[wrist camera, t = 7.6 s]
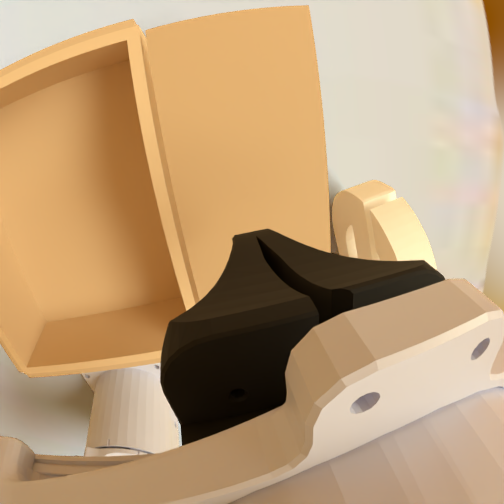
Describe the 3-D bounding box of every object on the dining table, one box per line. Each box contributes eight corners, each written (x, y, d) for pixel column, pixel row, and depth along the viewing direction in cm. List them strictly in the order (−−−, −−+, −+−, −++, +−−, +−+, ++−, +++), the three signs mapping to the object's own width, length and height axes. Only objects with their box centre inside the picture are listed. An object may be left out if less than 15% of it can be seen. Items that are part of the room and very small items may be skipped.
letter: (375, 360, 33) (419, 427, 24) (357, 368, 32) (399, 438, 24) (347, 165, 22) (438, 212, 13) (320, 175, 22) (403, 227, 13)
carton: (203, 300, 25) (209, 353, 19) (44, 328, 23) (23, 377, 18) (151, 41, 16) (137, 17, 11) (-30, 113, 14) (-81, 123, 9)
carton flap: (212, 345, 19) (213, 340, 19) (330, 334, 18) (328, 329, 19) (145, 30, 11) (149, 32, 11) (308, 5, 10) (306, 8, 11)
